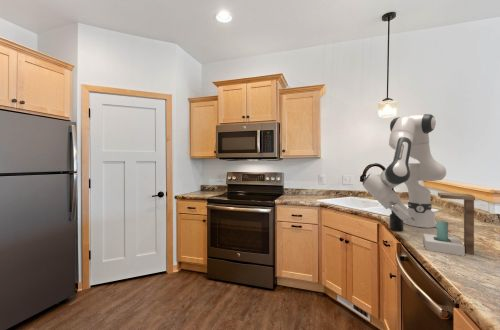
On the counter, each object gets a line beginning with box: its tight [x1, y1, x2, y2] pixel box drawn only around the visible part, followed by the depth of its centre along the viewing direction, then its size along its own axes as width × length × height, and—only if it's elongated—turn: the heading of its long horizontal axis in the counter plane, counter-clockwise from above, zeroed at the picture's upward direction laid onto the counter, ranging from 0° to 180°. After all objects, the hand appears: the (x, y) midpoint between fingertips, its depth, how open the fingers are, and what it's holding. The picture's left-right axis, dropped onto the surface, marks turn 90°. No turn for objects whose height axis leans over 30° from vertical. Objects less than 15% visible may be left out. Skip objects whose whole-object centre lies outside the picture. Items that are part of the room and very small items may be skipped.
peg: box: [436, 220, 449, 242], centre depth 106 cm, size 4×4×12 cm
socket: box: [422, 233, 466, 257], centre depth 106 cm, size 13×13×4 cm
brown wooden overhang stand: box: [437, 192, 476, 255], centre depth 103 cm, size 10×11×25 cm
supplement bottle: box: [389, 210, 405, 233], centre depth 135 cm, size 7×7×12 cm
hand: (414, 222), depth 111 cm, fingers open, 8 cm apart
